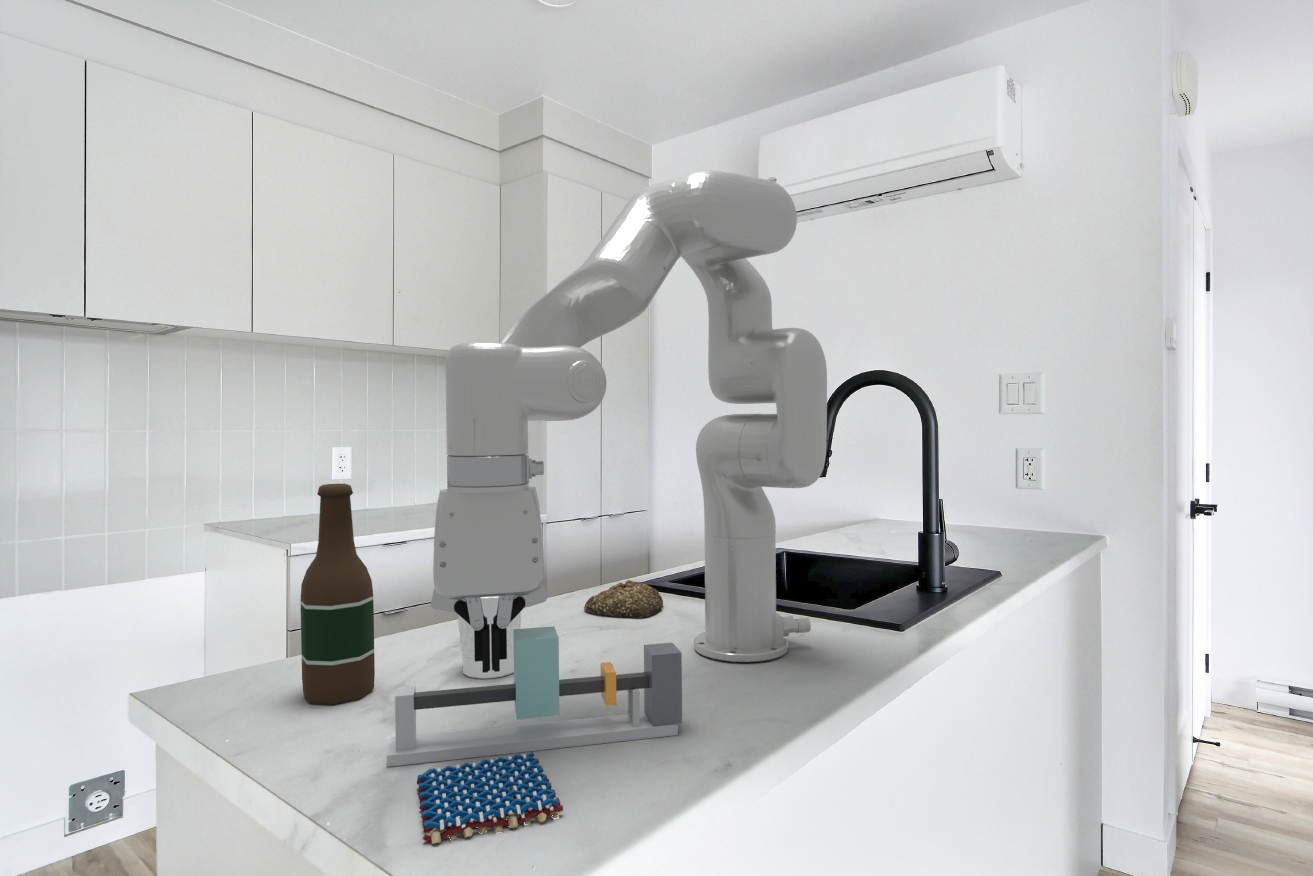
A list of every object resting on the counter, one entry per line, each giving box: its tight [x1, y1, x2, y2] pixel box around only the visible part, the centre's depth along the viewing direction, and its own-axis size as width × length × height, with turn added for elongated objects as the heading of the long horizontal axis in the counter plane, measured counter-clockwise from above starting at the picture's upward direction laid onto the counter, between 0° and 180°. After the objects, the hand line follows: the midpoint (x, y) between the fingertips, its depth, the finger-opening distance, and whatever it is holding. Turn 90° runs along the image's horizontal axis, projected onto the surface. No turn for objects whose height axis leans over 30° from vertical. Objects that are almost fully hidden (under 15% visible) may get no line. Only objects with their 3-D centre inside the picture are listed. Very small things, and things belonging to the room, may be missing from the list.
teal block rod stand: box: [386, 642, 683, 768], centre depth 73 cm, size 28×4×8 cm, turn 103°
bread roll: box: [583, 579, 664, 619], centre depth 125 cm, size 13×12×5 cm
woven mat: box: [416, 751, 564, 845], centre depth 61 cm, size 10×11×2 cm
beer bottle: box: [299, 483, 376, 706], centre depth 86 cm, size 8×8×24 cm
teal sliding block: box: [513, 625, 560, 721], centre depth 72 cm, size 4×4×7 cm
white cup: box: [457, 595, 522, 680], centre depth 94 cm, size 8×8×10 cm
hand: (490, 667), depth 71 cm, fingers closed
